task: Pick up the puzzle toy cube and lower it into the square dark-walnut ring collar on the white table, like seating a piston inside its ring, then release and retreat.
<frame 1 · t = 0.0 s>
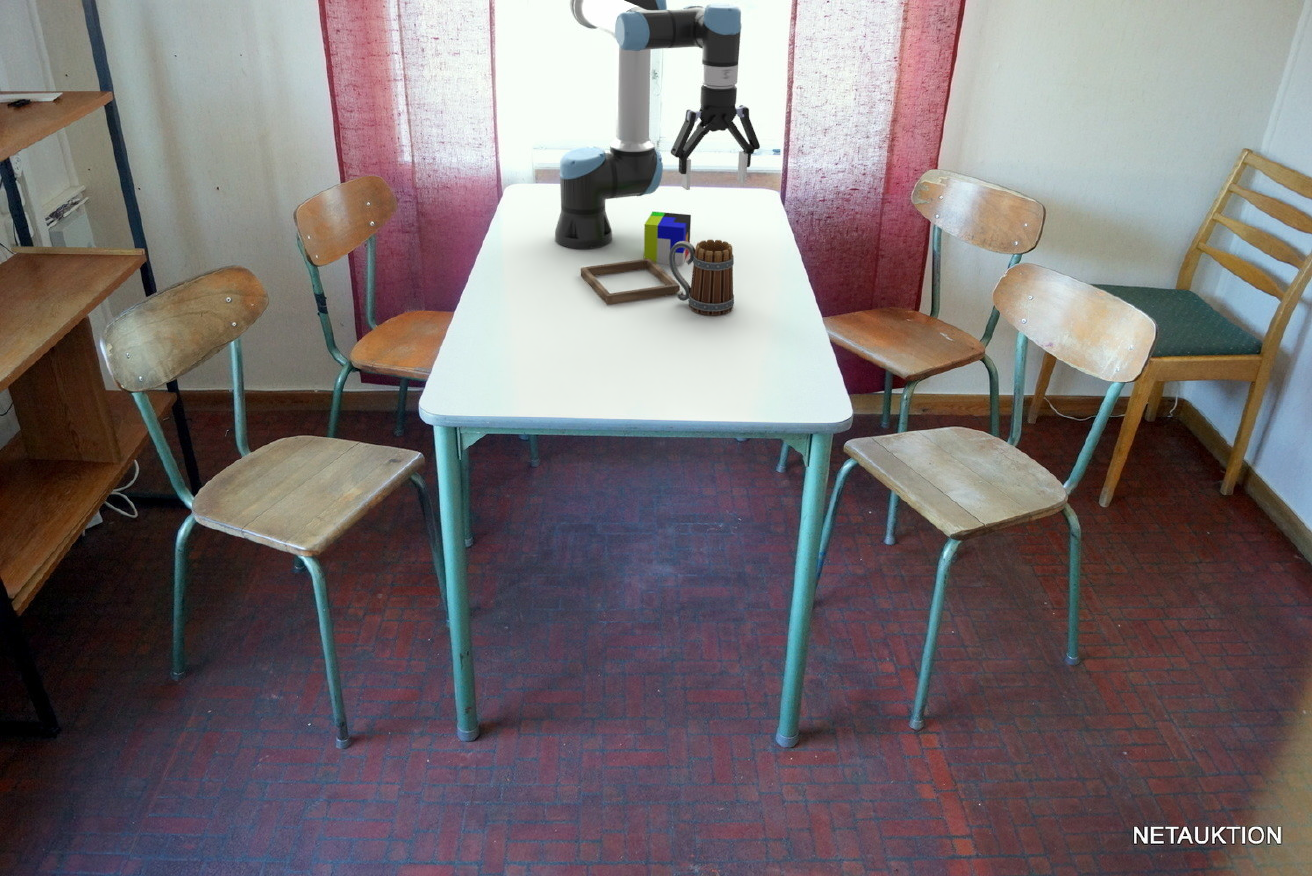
hand: (713, 185, 224), 28 cm above the table, fingers open, 13 cm apart
ring collar: (629, 284, 247), on the table
mug: (700, 306, 237), on the table
puzzle toy: (666, 257, 263), on the table
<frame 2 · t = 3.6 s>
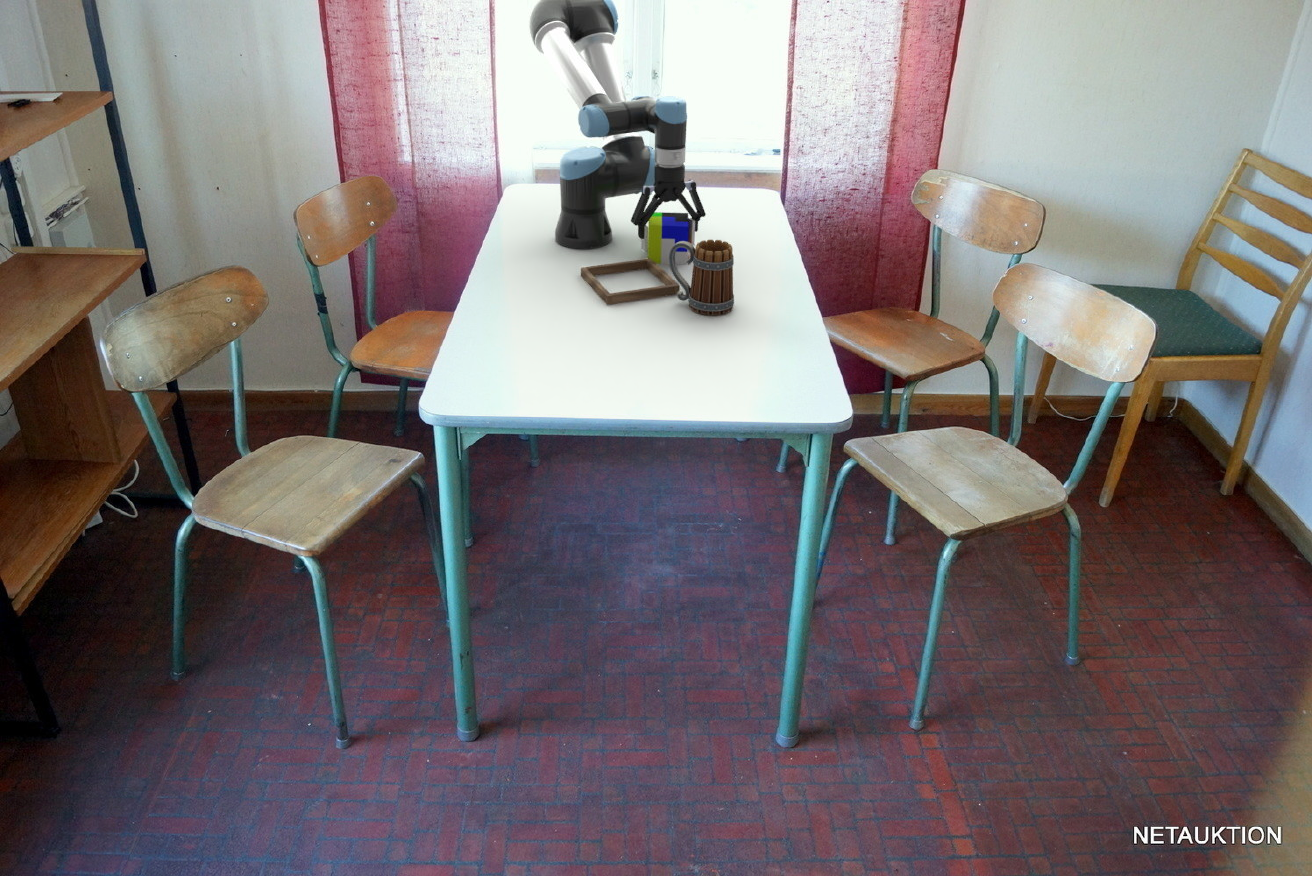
hand: (667, 247, 262), 3 cm above the table, fingers closed on puzzle toy, 12 cm apart
puzzle toy: (667, 257, 263), on the table, touching gripper
everything else where it was.
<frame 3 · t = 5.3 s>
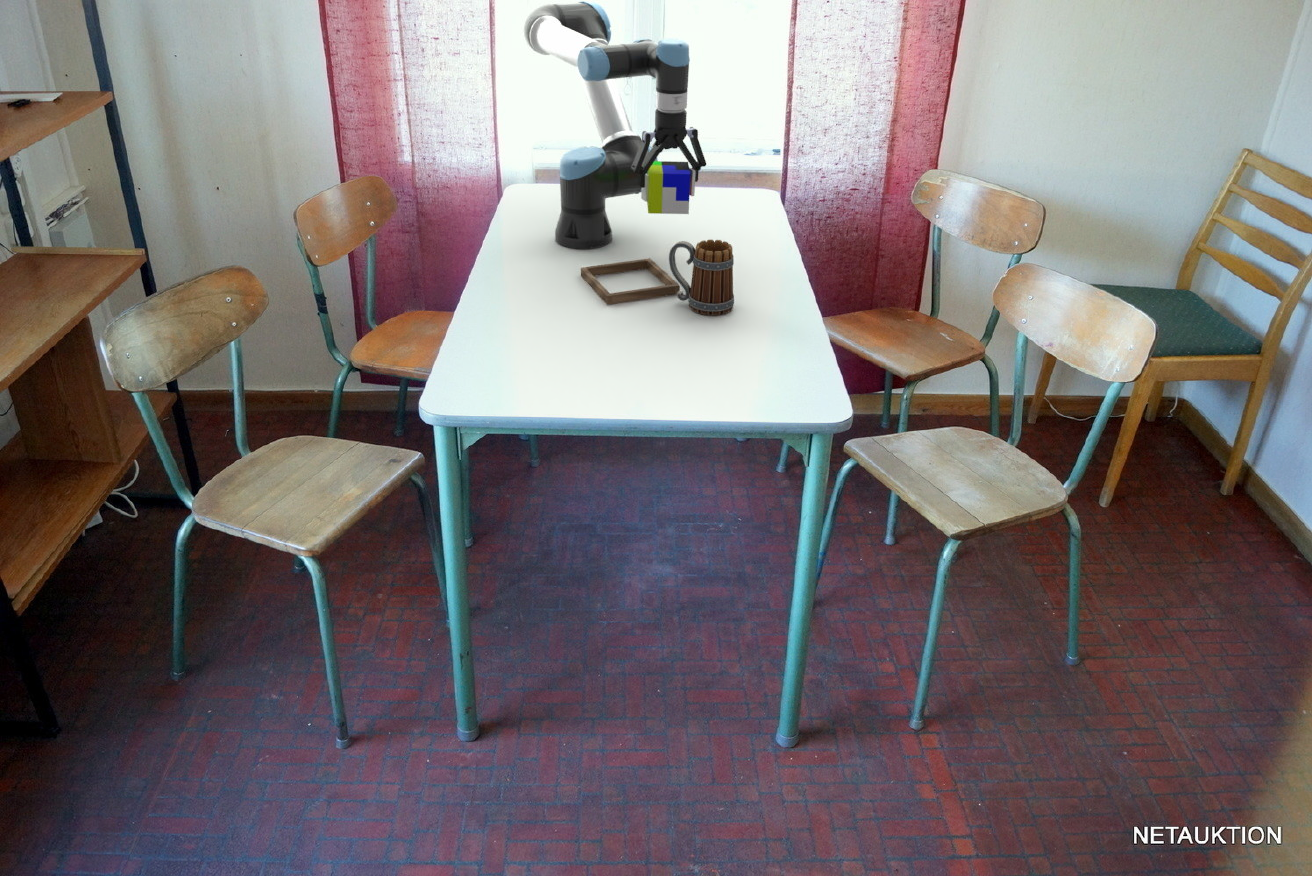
hand: (667, 197, 255), 16 cm above the table, fingers closed on puzzle toy, 12 cm apart
puzzle toy: (667, 207, 257), point 13 cm above the table, touching gripper
everything else where it was.
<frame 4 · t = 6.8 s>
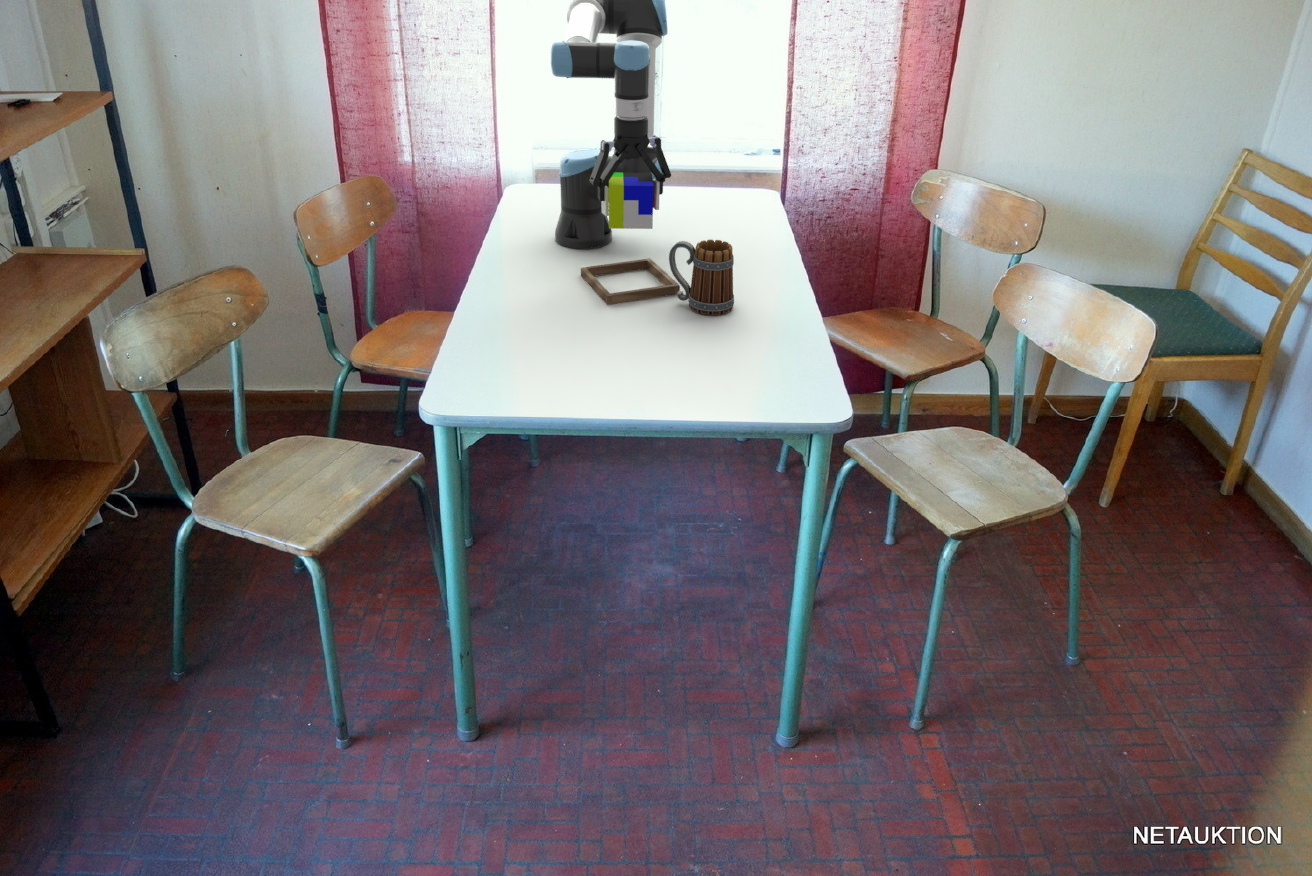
hand: (630, 211, 237), 18 cm above the table, fingers closed on puzzle toy, 12 cm apart
puzzle toy: (630, 222, 239), point 16 cm above the table, touching gripper
everything else where it was.
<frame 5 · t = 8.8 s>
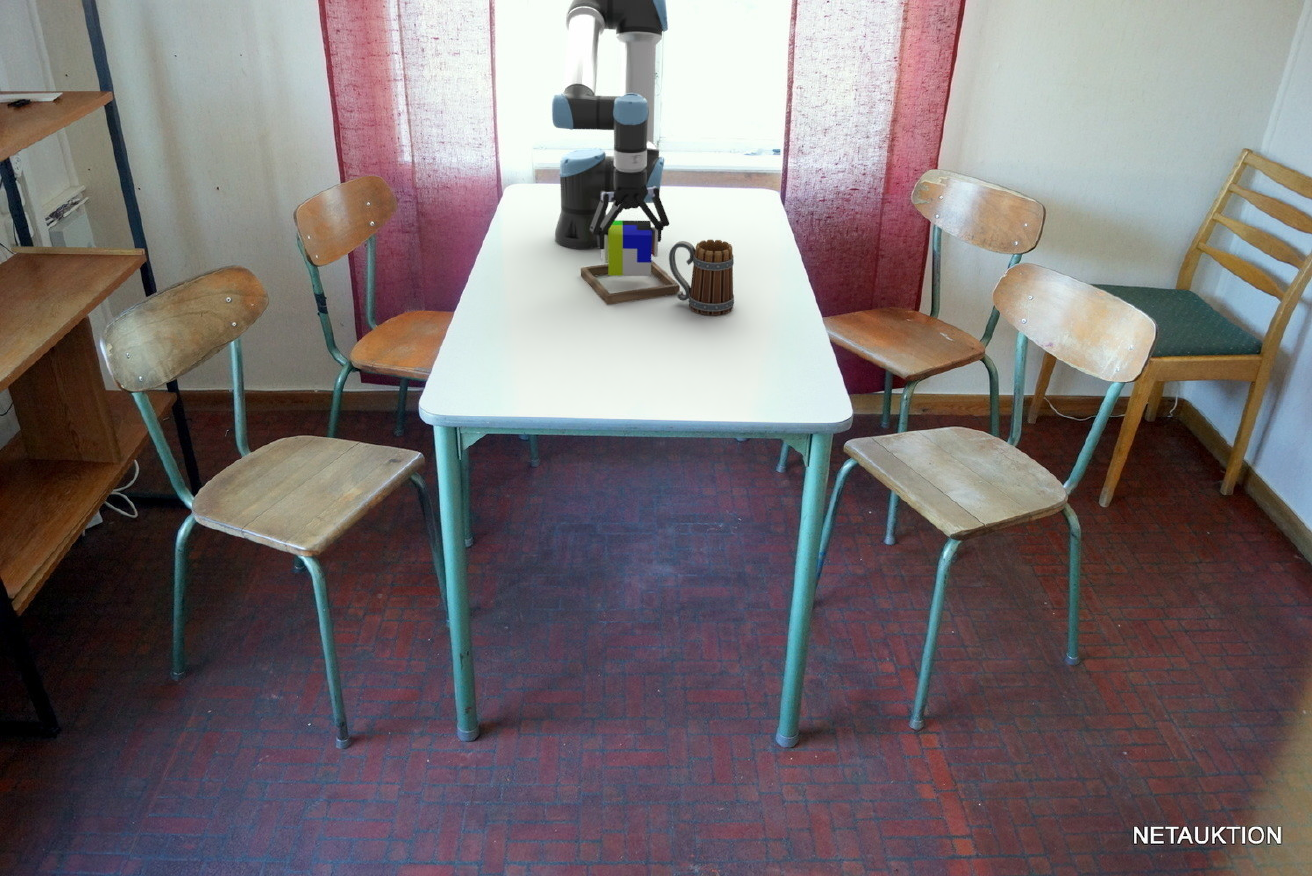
hand: (629, 258, 243), 7 cm above the table, fingers closed on puzzle toy, 12 cm apart
puzzle toy: (629, 268, 244), point 4 cm above the table, touching gripper
everything else where it was.
when the fingers open (4 cm above the table, at t = 10.1 s): puzzle toy drops 2 cm, resting in ring collar.
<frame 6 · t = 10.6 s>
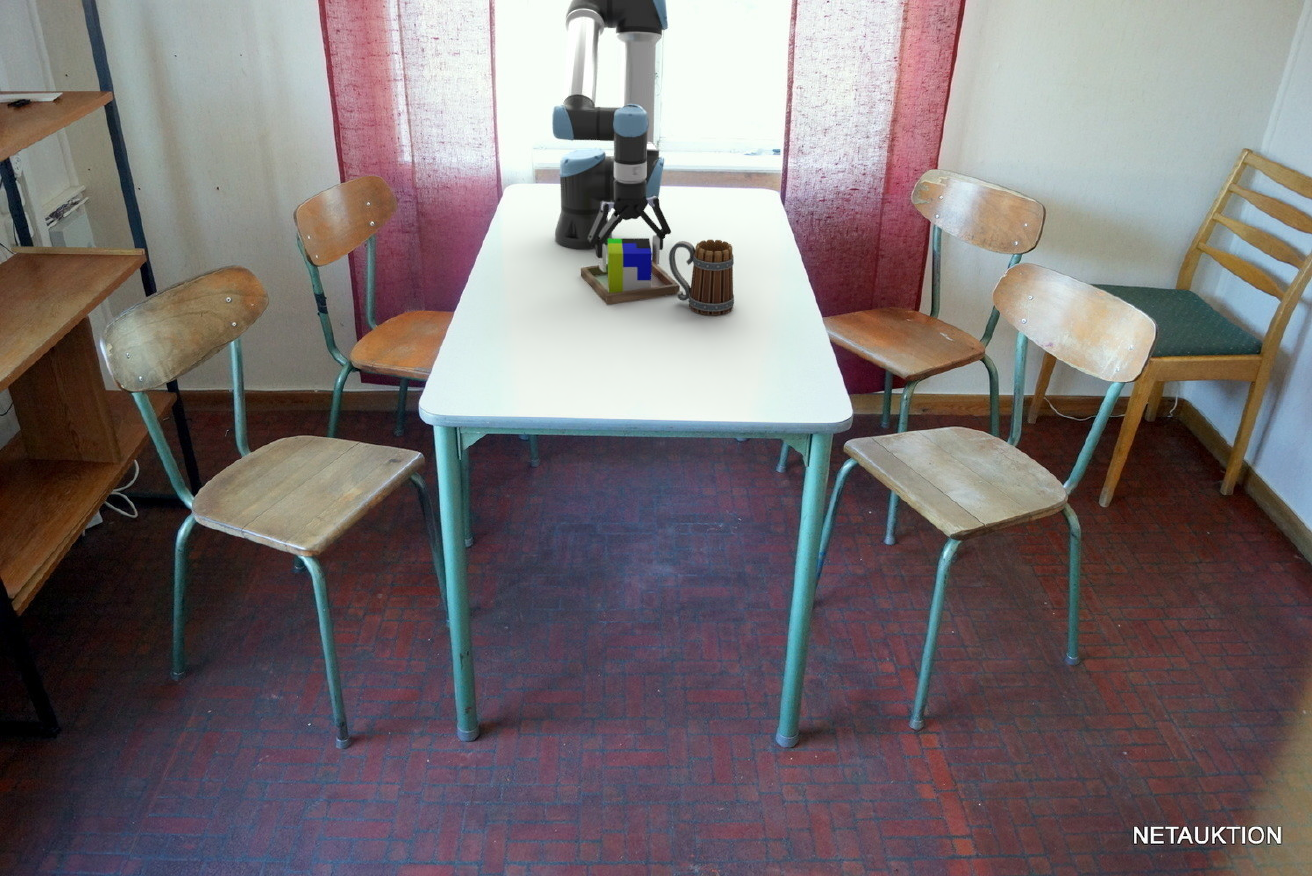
hand: (629, 266, 244), 5 cm above the table, fingers open, 13 cm apart
puzzle toy: (629, 286, 247), resting in ring collar
everything else where it was.
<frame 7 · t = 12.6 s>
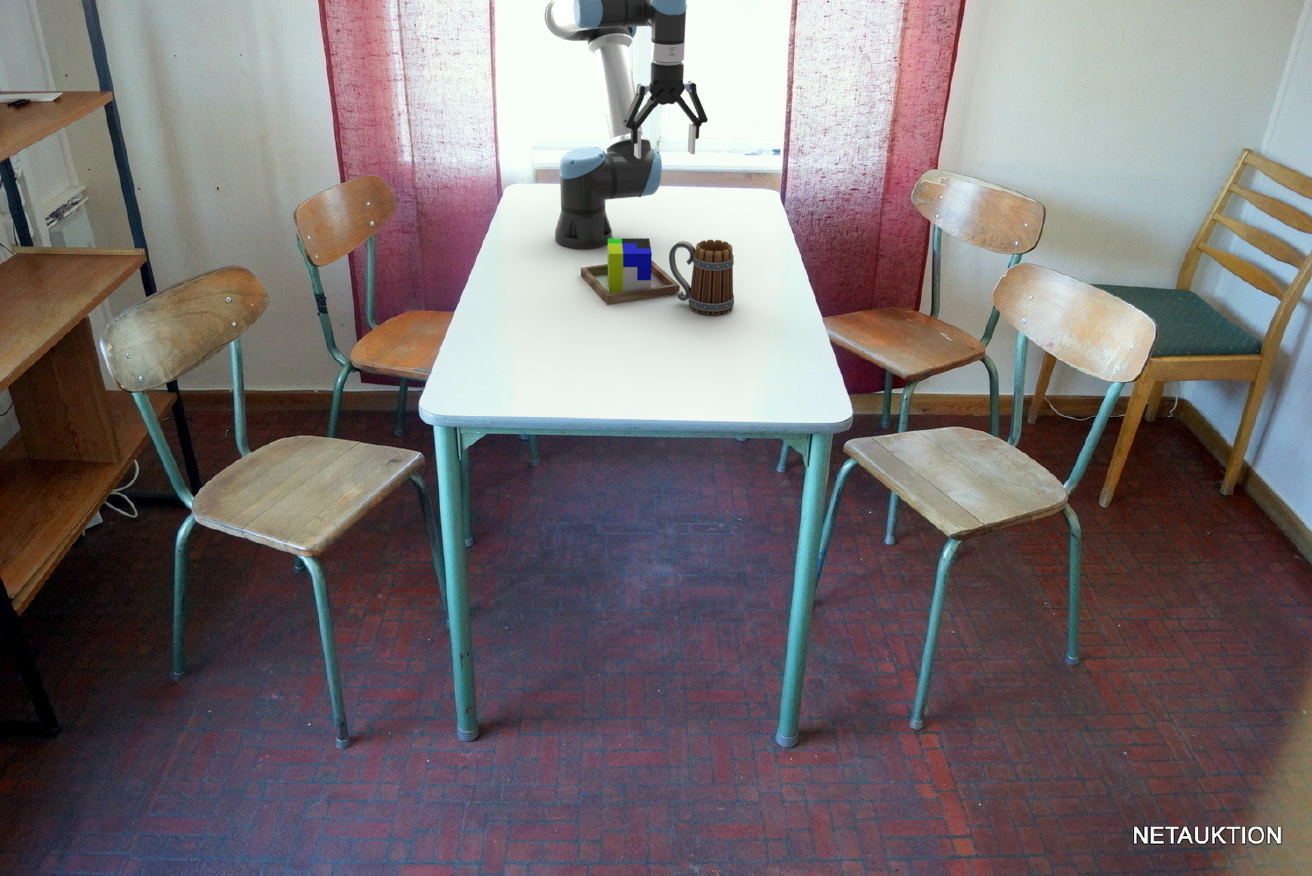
hand: (664, 155, 242), 28 cm above the table, fingers open, 13 cm apart
nothing on the table moved.
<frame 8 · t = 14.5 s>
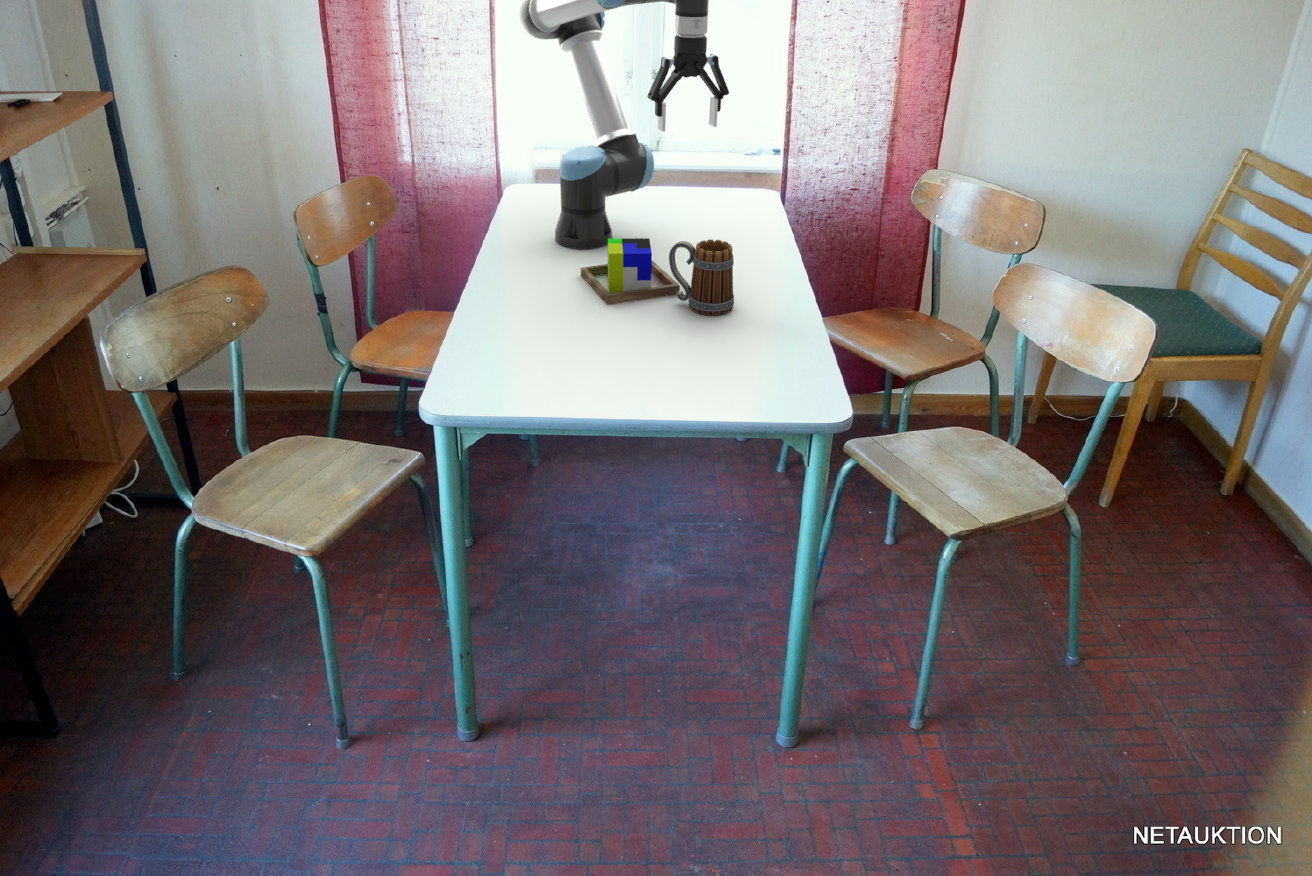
hand: (687, 128, 247), 33 cm above the table, fingers open, 13 cm apart
nothing on the table moved.
at the end: puzzle toy inside the target area on the ring collar (0.1 cm from its centre), point 0.0 cm above the ring collar's base; puzzle toy tilted 0°; the gripper is holding nothing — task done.
